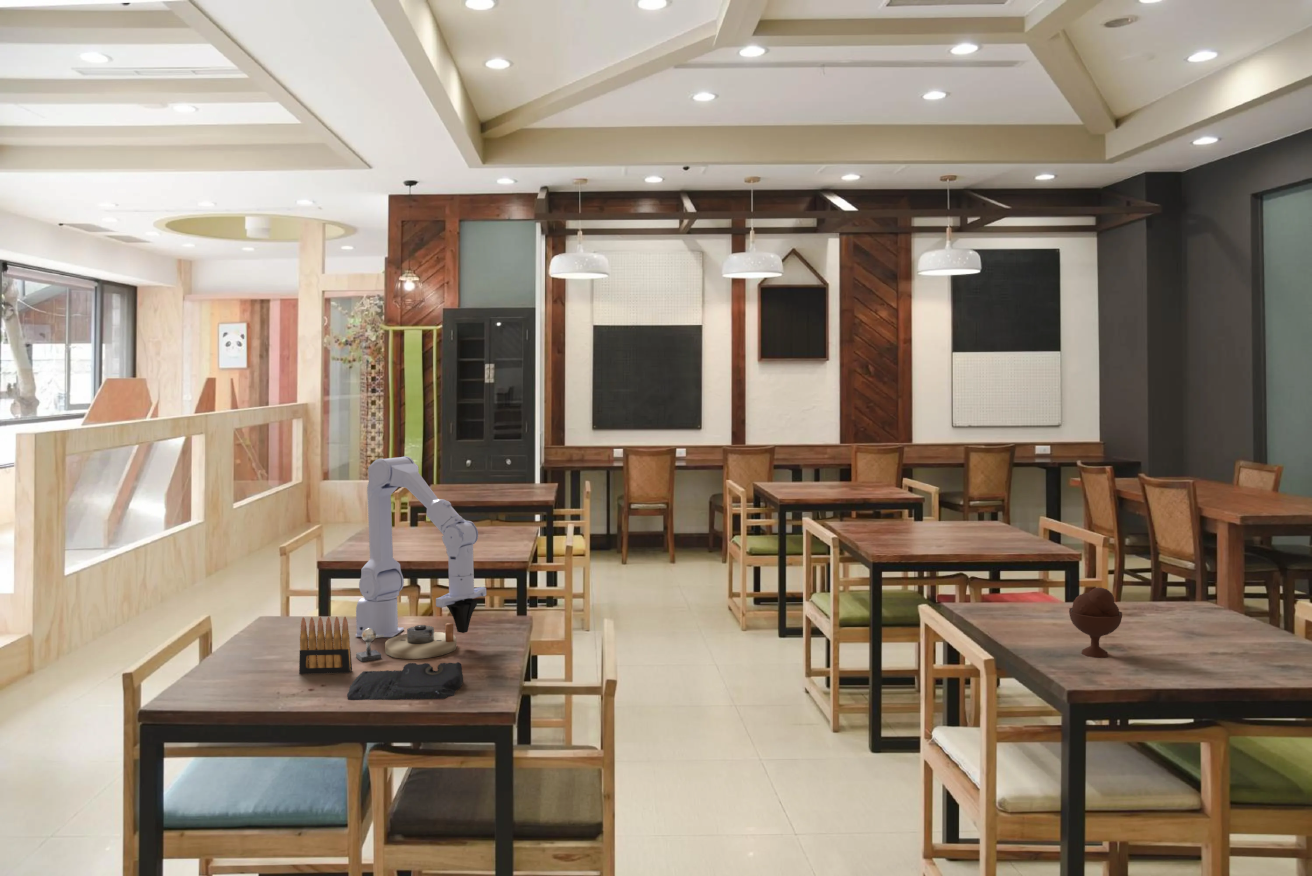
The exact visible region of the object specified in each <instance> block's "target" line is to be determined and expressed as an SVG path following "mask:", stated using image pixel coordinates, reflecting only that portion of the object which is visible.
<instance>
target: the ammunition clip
mask: <svg viewBox="0 0 1312 876" xmlns="http://www.w3.org/2000/svg"><path fill="white" fill-rule="evenodd" d="M305 618H306V617H304V616H303V617H302V618H301V621H300V633H299V634H300V636H299V648H300V649H299V662H298V663H299V666H298V668H299V669H298V671H299V672H298V674H299V675H309V674H312V675H313V674H314V675H315V674H316V675H319V674H322V675H323V674H350V673H351V672H352V671H353V663H352V652H351V651H352V650H351V646H350V643H351V641H350V637H351V636H350V632H349V624H348V623H349V622H348V618H347V617H346V616H344V617H343V619H342V626H341V625H340V624H341V623H340V620H339V618H338V616H335V619H334V623H333V627H332V621H331V618H330V616H327V618H326V621H325V628H324V622H323V618H322V617H321V616H319V617H318V621H317V631H316V625H315V620H314V617H312V616H311V617H310V618H309V624H308V626H307V621H306V619H305ZM307 627H308V629H307ZM332 628H333V629H332ZM341 628H342V630H341ZM324 629H325V630H324ZM316 632H317V634H316Z"/></svg>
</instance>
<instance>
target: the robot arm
mask: <svg viewBox="0 0 1312 876" xmlns="http://www.w3.org/2000/svg"><path fill="white" fill-rule="evenodd" d="M367 469H368V471H367V473H368V474H367V475H368V483H367V491H366V492H367V513H368V514H367V516H368V517H367V518H368V519H367V520H368V540H369V541H368V542H369V543H368V544H369V546H368V547H369V559H368V561H367V562H366V563H365V564H364V565H363V567H362V568H361V571H360V572H361V575H360V579H359V582H358V587H359V591H360V594H361V595H362V596H363V597H361V598H359V599H358V601H357V603H356V607H355V620H356V622H355V623H356V625H355V626H356V627H355V628H356V633H355V638H356V637H357V638H359V637H360V638H362V633H363V631H364V630H365V629H367V628H371V629H373V630H374V631H375V632H376V635H380V634H383V635H384V637H383V638H393V637H396V635H398V634H399V633H401V632H402V631H404V629H405V628H404V627H403V626H402V627H399V624H398V623H399V619H398V617H399V616H398V613H399V612H398V596H399V597H400V592H401V591H402V589H404V585H405V584H404V583H405V582H404V581H405V580H404V576H403V573H402V570H401V563H400V562H399V561H397V560H396V559H395V558H394V552H393V550H394V549H393V548H394V547H393V525H392V524H393V523H392V521H393V519H392V497H391V496H392V494H393V493H394V492H396V490H397V489H398V488H405V489H407V491H409V492H410V493H411V494H412V495H413V496H414V497H415V498H416V499H417V500H418V501H419V503H421V504H422V505H423V506H424V507H425V508H426V512H425V513H426V517H427V518H428V520H430V521H431V523H433V525H434V526H435V527H436V528H437V529H438V531H439V532H440V533H441V534H442V536H441V539H442V542H443V544H444V546H445V549H446V554H447V558H448V593H446V594H444V595H442V596H440V597H436V598H435V607H436V608H441V609H442V608H445V607H447V609H448V611H449V612H450V613H451V616H452V618H453V621H454V623H455V627H456V631H457V633H459V634H465V633H468V631H469V626H470V622H471V619H472V616H473V613H474V611H475V610H476V607H477V605H478V601H477V600H473V599H476V598H480V597H486V596H487V587H484V586H479V587H475V579H474V578H475V577H474V576H475V574H474V573H475V572H474V545H475V544H476V543H477V541H478V538H479V531H478V528H477V526H476V525H475V523H474V522H473V521H471V520H467V519H465V518H463V516H461V515H459V513H458V512H457V511H456V509H454V507H453V506H452V503H451V502H450V501H449V500H446V499H442V498H438V496H437V495H436V493H435V492H434V491H433V490H432V489H431V487H430V486H429V485H428V483H427V482H426V480H425V479H424V478H423V476H422V474H420V473H419V470H420V469H419V465H418V464H417V463H415V461H414V460H413V458H411V457H410V456H407V455H404V456H401V457H400V456H399V457H390V458H389V457H388V458H376V459H375V460H374V461H373V462H372V463H371V464H370V465H369V466H368V468H367Z"/></svg>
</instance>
